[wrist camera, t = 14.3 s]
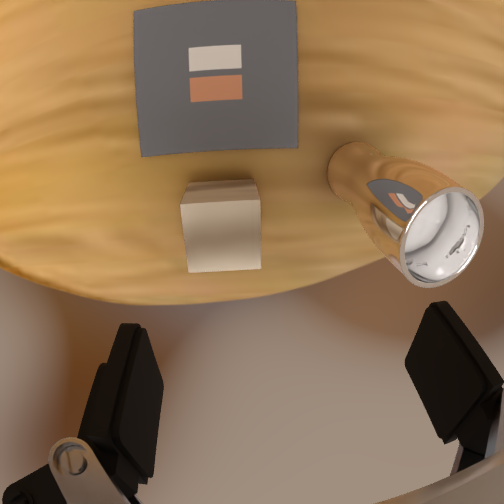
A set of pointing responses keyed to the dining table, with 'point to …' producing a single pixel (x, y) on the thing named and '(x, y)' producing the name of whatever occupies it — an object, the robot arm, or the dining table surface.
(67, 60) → the dining table surface
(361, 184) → the beer glass
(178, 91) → the gray mat
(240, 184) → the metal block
